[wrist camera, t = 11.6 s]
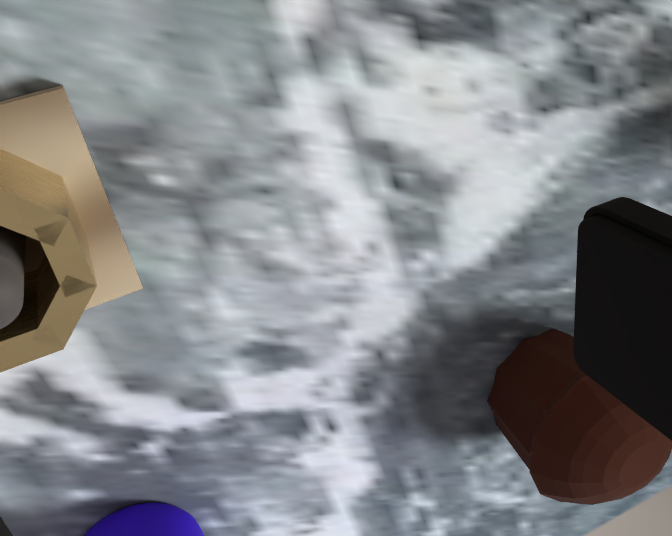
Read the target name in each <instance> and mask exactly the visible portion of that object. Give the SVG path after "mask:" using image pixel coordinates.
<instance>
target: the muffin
mask: <svg viewBox="0 0 672 536" xmlns="http://www.w3.org/2000/svg"><path fill="white" fill-rule="evenodd" d="M573 347H574V337H573V336H570V335H568V334H566V333H563V332H561V331H559V330H556V329H551V330H549V331H547V332H545V333H543V334H541V335H539V336H535V337H531V338H528V339H524V340H523V341H522V342H521V343H520V344H519V346H518V347H517V348H516V349H515V350H514V352H513V353H512V354H511V355H510V356H509V357H508V358H507V359H506V360H505V361H504V362H503V363H502V364H501V365H500V366H499V367H498V368H497V371H496V376H495V380H494V385H493V387H492V390H491V392H490V395H489V397H488V400H487V401H488V403H489V405H490V407H491V409H492V410H493V413H494V417H495V421H496V425H497V426H498V427H499V429H500V430H501V431H502V433H503V434H504V436H505V437H506V438H507V440H508V441H509V442H510V444H511V445H512V446H513V448H514V449H515V451H516V452H517V453H518V455H519V456H520V457H521V459H522V460H523V461H524V463H525V464H526V466H527V467H528V468H529V470H530V474H531V476H532V478H533V480H534V482H535V484H536V486H537V488H538V490H539V493H540V494H542V495H544V496H547V497H550V498H552V499H555V500H557V501H560V502H570V503H578V504H591V505H593V504H598V503H603V502H608V501H613V500H617V499H622V498H624V497H626V496H628V495H631V494H633V493H634V492H636V491H638V490H639V489H641V488H643V487H645V486H646V485H647V484H648V483H649V482H650V481H651V480H652V479H653V478H654V477H655V476H656V475H658V474H659V473H660V471H661V470H662V468H663V466H664V465H665V463H666V461H667V460H668V458H669V456H670V453H671V449H672V441H671V440H670V439H669V438H667V437H666V436H665V435H663V434H662V433H661V432H660V431H658V430H657V429H656V428H654V427H653V426H652V425H650V424H649V423H648V422H647V421H645V420H644V419H643V418H641V417H640V416H639V415H638V414H636V413H635V412H634V411H632V410H631V409H630V408H629V407H627V406H626V405H625V404H623V403H622V402H621V401H620V400H618V399H617V398H616V397H614V396H613V395H612V394H611V393H609V392H608V391H607V390H605V389H604V388H603V387H601V386H600V385H599V384H598V383H596V382H595V381H594V380H592V379H591V378H590V377H589V376H587V375H586V374H585V373H584V372H583V371H582V370H581V369H580V368H579V366H578V365H577V363H576V361H575V358H574V352H573Z"/></svg>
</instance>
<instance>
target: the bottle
mask: <svg viewBox="0 0 672 536" xmlns="http://www.w3.org/2000/svg"><path fill="white" fill-rule="evenodd" d="M84 536H204V534H203V532H202V531H201V529H200V527H199V525H198V523H197V522H196V520H195V519H194V518H193V517H192V516H191V515H190V514H189V513H187V512H186V511H184V510H182V509H180V508H178V507H176V506H173V505H169V504H164V503H142V504H136V505H132V506H129V507H126V508H123V509H120V510H118V511H116V512H114V513H112V514H110V515H108V516H106V517H105V518H103V519H102V520H100V521H99V522H98V523H96V524H95V525H94V526H93V527H92V528H91V529H90V530H89V531H88V532H87V533H86V534H85V535H84Z"/></svg>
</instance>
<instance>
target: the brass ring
mask: <svg viewBox="0 0 672 536" xmlns="http://www.w3.org/2000/svg"><path fill="white" fill-rule="evenodd" d="M0 226H2V227H5V228H8V229H10V230H13V231H15V232H18V233H20V234H23V235H26V236H28V237H31V238H33V239H36V240H38V241H40V243H41V245H42V247H43V249H44V251H45V255H44V257H43V259H42V261H41V263H40V265H39V266H38V268H37V270H33V271H30V272H27V273H24V298H23V306H22V309H21V311H20V313H19V315H18V316H17V317H16V318H15V320H14V321H12V322H11V323H10V324H9V325H7V326H5V327H4V328H2V329H0V372H3V371H5V370H8V369H11V368H14V367H16V366H19V365H22V364H24V363H27V362H30V361H33V360H35V359H38V358H41V357H43V356H46V355H49V354H52V353H54V352H57V351H60V350H62V349H64V347H65V345H66V343H67V341H68V339H69V338H70V336H71V334H72V332H73V330H74V328H75V326H76V325H77V323H78V321H79V319H80V317H81V315H82V313H83V312H84V310H85V308H86V306H87V304H88V302H89V300H90V299H91V297H92V295H93V293H94V291H95V289H96V287H97V283H96V278H95V273H94V269H93V264H92V259H91V255H90V250H89V245H88V240H87V236H86V233H85V230H84V228H83V226H82V223H81V221H80V218H79V216H78V213H77V211H76V209H75V206H74V204H73V201H72V199H71V197H70V194H69V192H68V189H67V187H66V184H65V182H64V180H63V177H62V176H60V175H58V174H56V173H54V172H51V171H49V170H47V169H45V168H42V167H40V166H38V165H36V164H34V163H31V162H29V161H27V160H25V159H22V158H20V157H18V156H16V155H14V154H11V153H9V152H7V151H5V150H3V149H0Z"/></svg>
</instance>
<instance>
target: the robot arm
mask: <svg viewBox="0 0 672 536" xmlns="http://www.w3.org/2000/svg"><path fill="white" fill-rule="evenodd" d="M573 352H574V358H575V361H576V363H577V365H578V366H579V368H580V369H581V370H582V371H583V372H584V373H585V374H586V375H587V376H589V377H590V378H591V379H592V380H594V381H595V382H596V383H598V384H599V385H600V386H601V387H603V388H604V389H605V390H607V391H608V392H609V393H611V394H612V395H613V396H614V397H616V398H617V399H618V400H620V401H621V402H622V403H623V404H625V405H626V406H627V407H629V408H630V409H631V410H632V411H634V412H635V413H636V414H638V415H639V416H640V417H641V418H643V419H644V420H645V421H647V422H648V423H649V424H650V425H652V426H653V427H654V428H656V429H657V430H658V431H660V432H661V433H662V434H663V435H665V436H666V437H667V438H669V439H670V440H671V441H672V216H670V215H668V214H666V213H663V212H661V211H658V210H656V209H654V208H651V207H649V206H646V205H644V204H642V203H639V202H637V201H634V200H632V199H630V198H625V197H620V198H616V199H613V200H611V201H608V202H605V203H603V204H600V205H597V206H594V207H592V208H590V209H589V210H587V212H586V213H585V215H584V219H583V221H582V222H581V223H580V225H579V228H578V245H577V270H576V296H575V322H574V347H573ZM0 536H12V534H11V532H10V531H9V529H8V528H7V526H6V525H5V523H4V522H3V520H2V518H1V517H0Z"/></svg>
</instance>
